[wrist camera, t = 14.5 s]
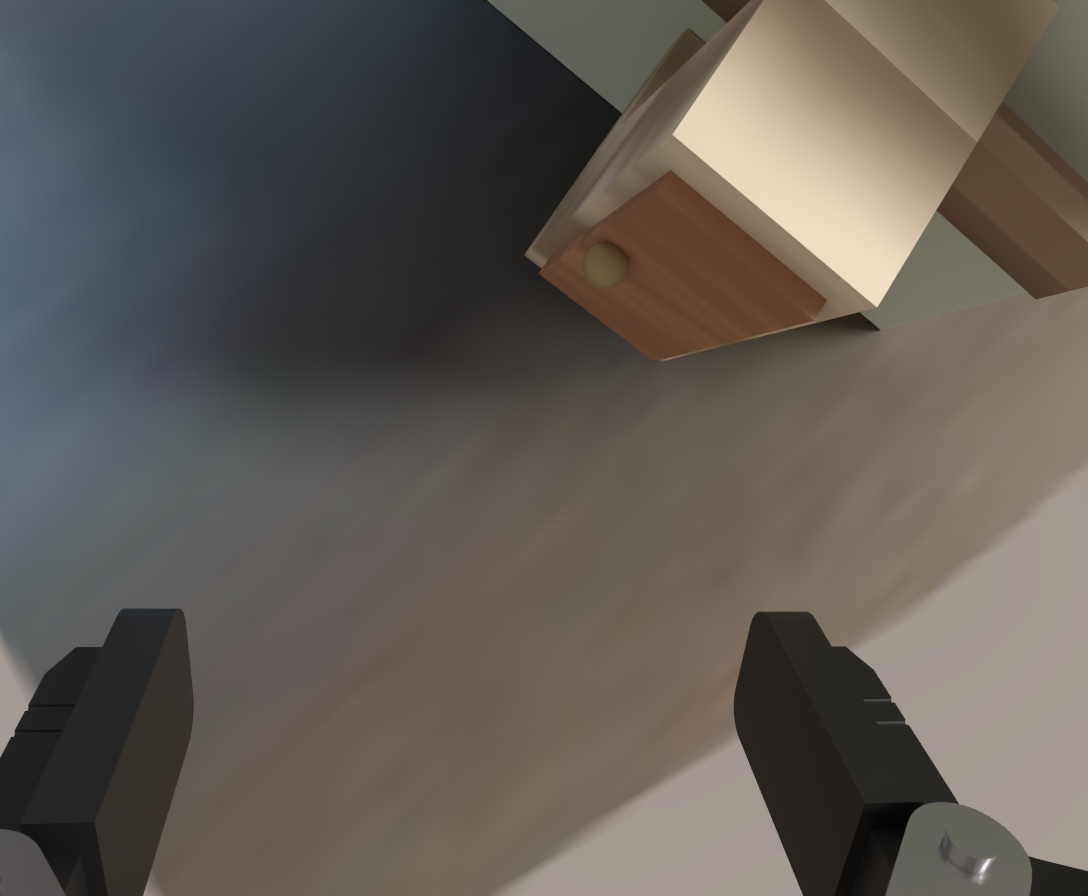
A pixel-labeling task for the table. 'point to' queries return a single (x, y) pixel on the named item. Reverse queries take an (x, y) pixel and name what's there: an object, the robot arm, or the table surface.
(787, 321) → the wall cabinet
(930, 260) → the wall board
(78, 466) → the table surface
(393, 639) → the table surface
